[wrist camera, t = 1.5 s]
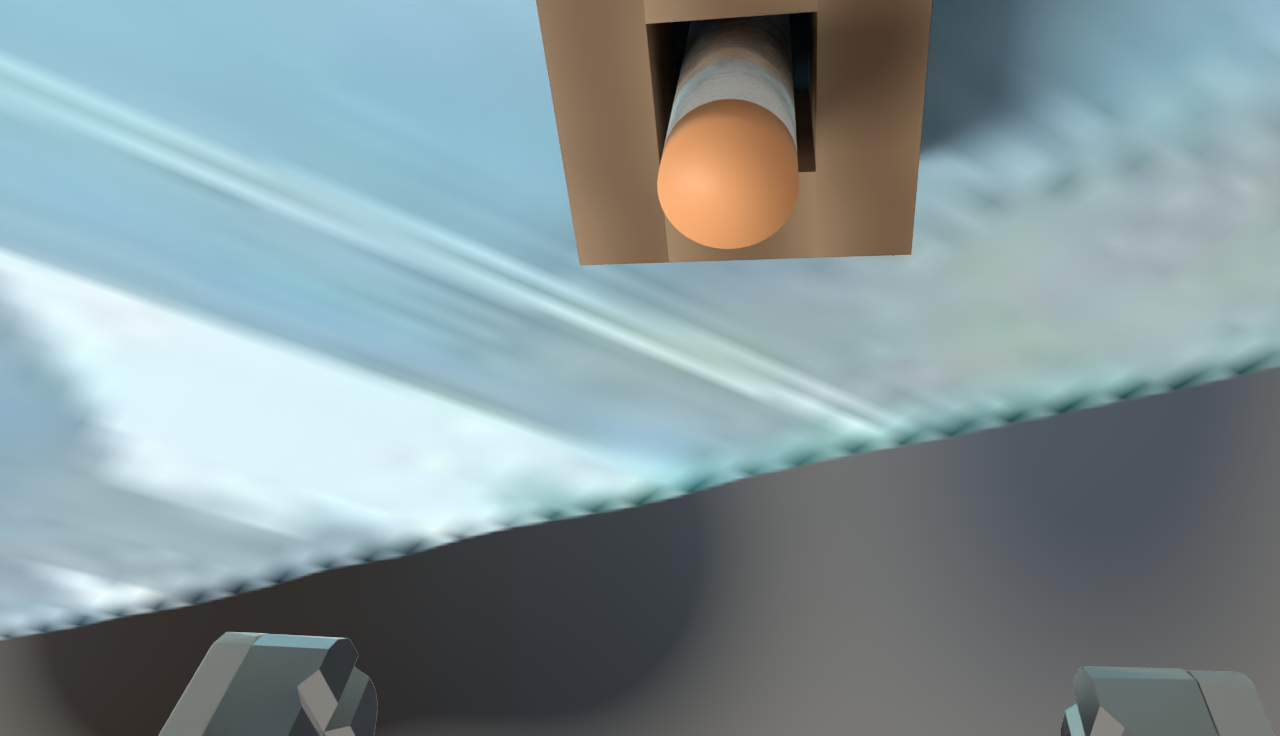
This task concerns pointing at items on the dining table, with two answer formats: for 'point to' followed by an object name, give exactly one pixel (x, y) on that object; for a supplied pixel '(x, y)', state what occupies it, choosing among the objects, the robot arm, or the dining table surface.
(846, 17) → the hitch block
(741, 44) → the pin
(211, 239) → the dining table surface
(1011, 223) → the dining table surface
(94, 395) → the dining table surface
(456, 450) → the dining table surface
